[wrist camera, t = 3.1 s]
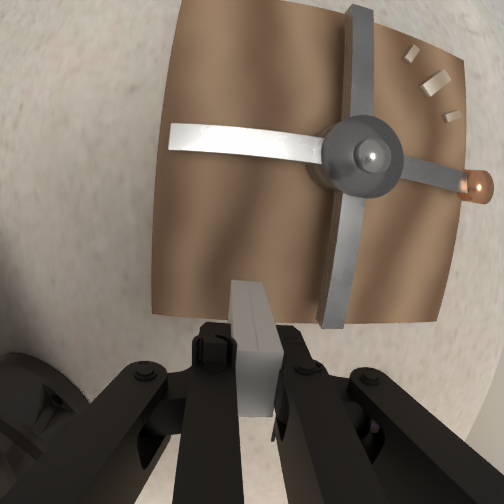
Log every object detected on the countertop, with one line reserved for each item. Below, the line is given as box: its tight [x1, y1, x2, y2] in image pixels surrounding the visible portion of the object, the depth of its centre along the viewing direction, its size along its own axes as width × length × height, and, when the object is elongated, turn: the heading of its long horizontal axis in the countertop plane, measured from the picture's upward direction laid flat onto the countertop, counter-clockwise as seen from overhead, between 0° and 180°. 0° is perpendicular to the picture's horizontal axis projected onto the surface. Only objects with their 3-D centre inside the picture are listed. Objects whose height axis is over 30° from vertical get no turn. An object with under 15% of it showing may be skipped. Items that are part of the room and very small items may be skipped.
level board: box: [152, 0, 466, 324], centre depth 23 cm, size 26×26×2 cm
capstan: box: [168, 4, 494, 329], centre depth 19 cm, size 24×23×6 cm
